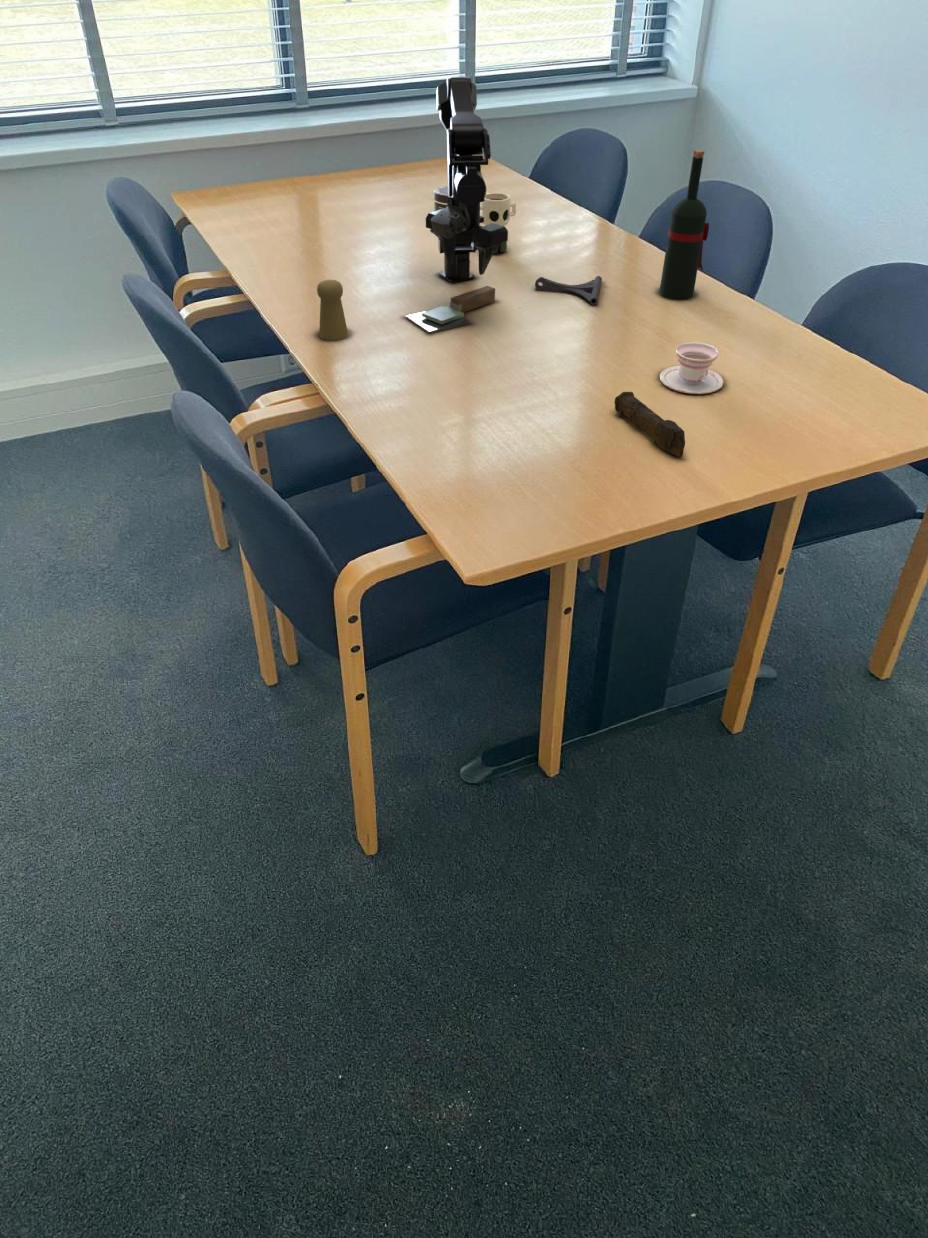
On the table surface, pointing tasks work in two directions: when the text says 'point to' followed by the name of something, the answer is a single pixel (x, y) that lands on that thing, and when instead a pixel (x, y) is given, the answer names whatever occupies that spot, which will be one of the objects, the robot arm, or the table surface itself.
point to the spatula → (461, 305)
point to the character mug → (497, 212)
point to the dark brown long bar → (652, 423)
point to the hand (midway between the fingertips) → (465, 268)
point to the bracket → (573, 288)
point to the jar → (440, 198)
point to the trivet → (434, 323)
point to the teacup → (693, 370)
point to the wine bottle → (685, 240)
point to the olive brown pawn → (331, 311)
